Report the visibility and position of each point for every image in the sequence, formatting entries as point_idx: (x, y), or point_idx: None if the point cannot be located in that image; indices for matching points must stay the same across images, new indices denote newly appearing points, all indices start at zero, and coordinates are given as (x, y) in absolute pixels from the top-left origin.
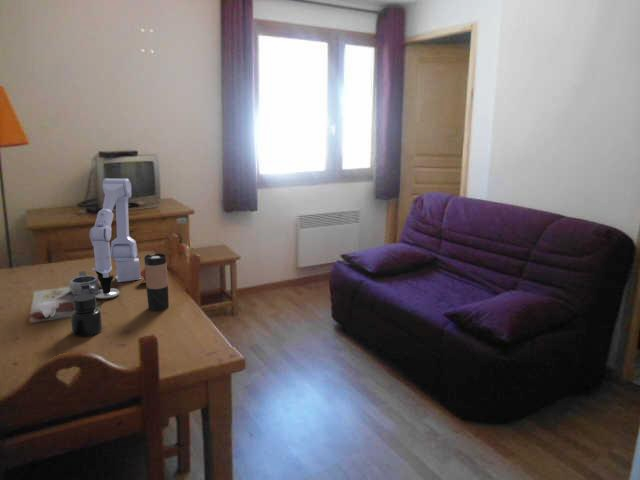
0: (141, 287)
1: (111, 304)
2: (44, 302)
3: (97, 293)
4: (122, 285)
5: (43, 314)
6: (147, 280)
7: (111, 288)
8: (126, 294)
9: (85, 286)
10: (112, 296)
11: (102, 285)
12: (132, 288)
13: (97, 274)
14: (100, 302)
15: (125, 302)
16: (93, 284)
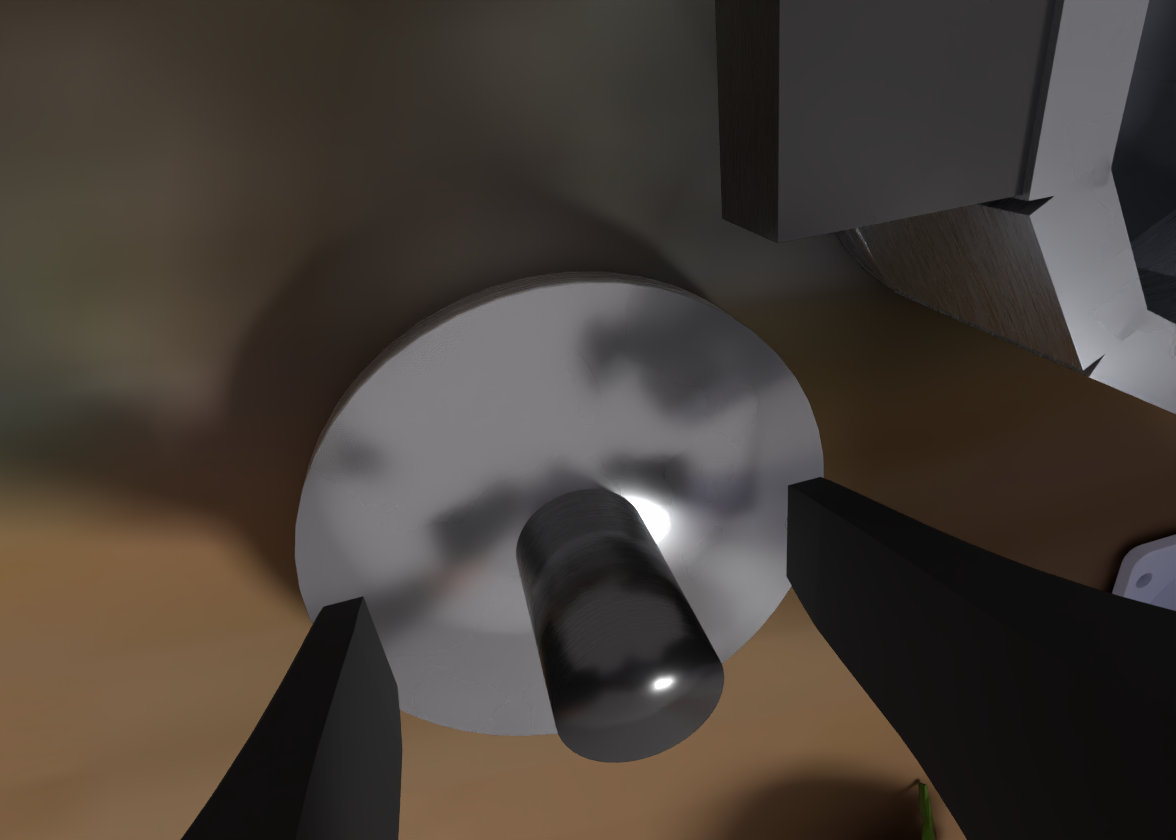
0: (776, 825)
1: (51, 655)
2: None
3: (568, 388)
4: None
5: None
6: None
7: (780, 588)
8: (561, 743)
9: (761, 112)
10: None
11: (199, 838)
12: (789, 750)
13: (1125, 696)
14: (204, 445)
15: (157, 817)
16: (991, 305)
